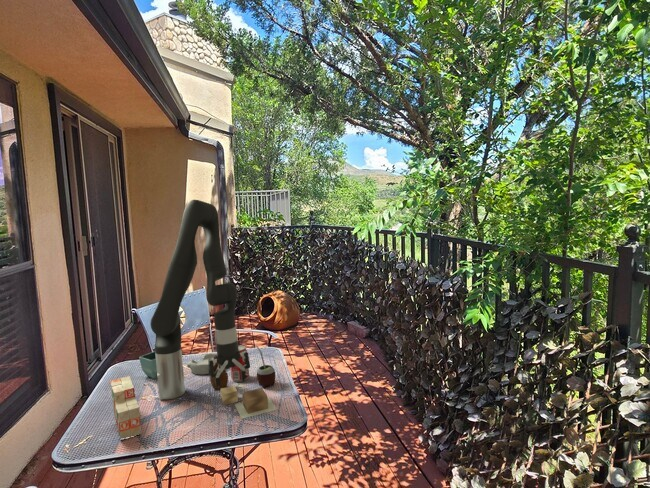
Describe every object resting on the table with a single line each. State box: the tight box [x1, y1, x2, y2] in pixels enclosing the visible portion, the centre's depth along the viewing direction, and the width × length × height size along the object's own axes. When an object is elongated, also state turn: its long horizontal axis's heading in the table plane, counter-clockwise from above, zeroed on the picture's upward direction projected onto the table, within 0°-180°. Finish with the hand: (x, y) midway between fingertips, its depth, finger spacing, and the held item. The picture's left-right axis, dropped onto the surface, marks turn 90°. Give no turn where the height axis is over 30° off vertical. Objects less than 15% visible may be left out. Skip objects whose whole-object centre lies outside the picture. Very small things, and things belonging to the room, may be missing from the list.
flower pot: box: [138, 350, 158, 379], centre depth 174 cm, size 9×9×9 cm
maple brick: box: [219, 385, 239, 406], centre depth 146 cm, size 5×5×5 cm
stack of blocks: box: [109, 375, 142, 440], centre depth 135 cm, size 21×6×12 cm, turn 32°
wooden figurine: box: [209, 355, 229, 391], centre depth 157 cm, size 7×6×15 cm
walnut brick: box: [241, 387, 269, 414], centre depth 140 cm, size 7×7×4 cm
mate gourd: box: [256, 345, 276, 390], centre depth 156 cm, size 8×8×15 cm
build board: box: [234, 395, 278, 419], centre depth 140 cm, size 12×11×1 cm
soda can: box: [230, 345, 250, 383], centre depth 165 cm, size 7×7×13 cm
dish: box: [186, 352, 217, 375], centre depth 178 cm, size 14×14×5 cm
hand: (231, 383), depth 146 cm, fingers open, 8 cm apart
